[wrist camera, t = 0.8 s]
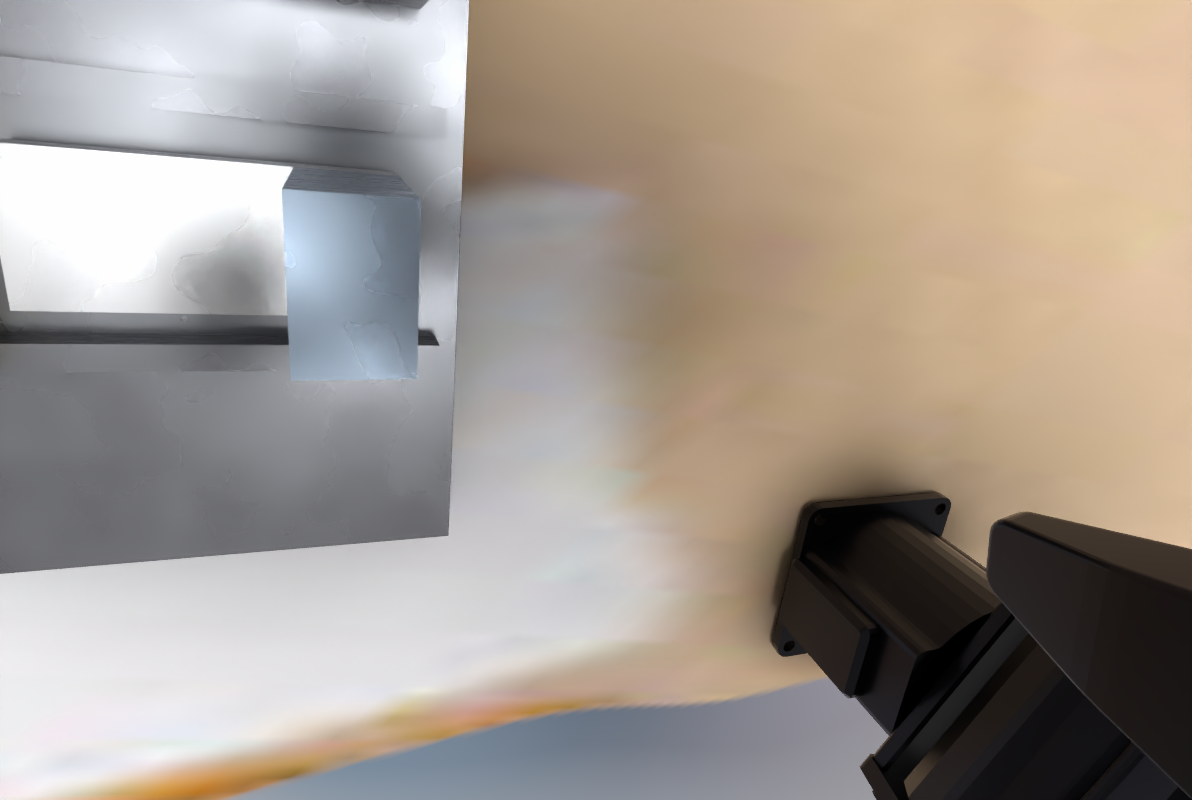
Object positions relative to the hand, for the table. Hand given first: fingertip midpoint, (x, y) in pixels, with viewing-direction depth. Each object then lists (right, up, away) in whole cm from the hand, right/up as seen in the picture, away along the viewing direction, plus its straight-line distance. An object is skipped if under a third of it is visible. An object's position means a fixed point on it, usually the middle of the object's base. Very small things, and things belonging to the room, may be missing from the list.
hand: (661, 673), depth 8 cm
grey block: (-9, +7, +7) cm, 13 cm away
